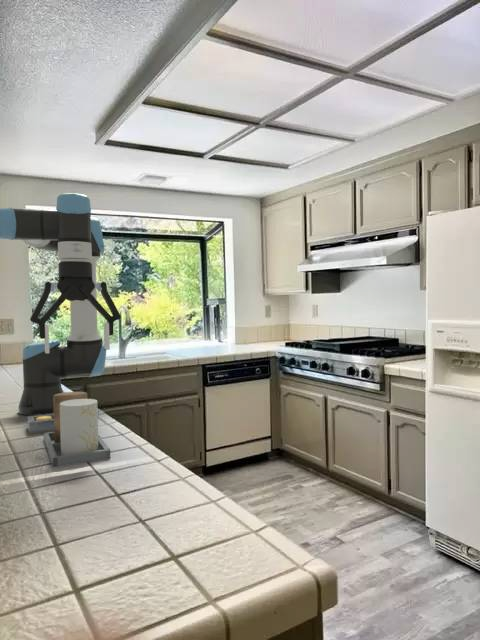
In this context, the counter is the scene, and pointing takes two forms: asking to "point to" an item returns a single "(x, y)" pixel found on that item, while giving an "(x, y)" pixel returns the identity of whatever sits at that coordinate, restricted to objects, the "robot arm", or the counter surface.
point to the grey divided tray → (59, 460)
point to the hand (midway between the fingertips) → (77, 351)
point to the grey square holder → (40, 424)
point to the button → (43, 418)
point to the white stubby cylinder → (78, 426)
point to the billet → (56, 402)
